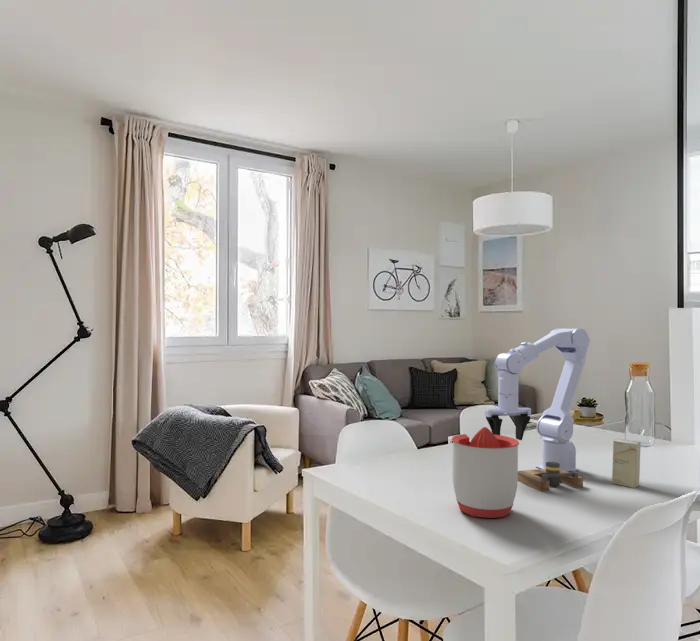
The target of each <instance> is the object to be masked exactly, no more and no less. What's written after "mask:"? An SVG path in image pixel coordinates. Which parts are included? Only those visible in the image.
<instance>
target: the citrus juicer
mask: <svg viewBox="0 0 700 641" xmlns="http://www.w3.org/2000/svg"><path fill="white" fill-rule="evenodd" d="M451 441H452V484H453V489H454V494H455V497H456V499H455V500H456V502H457V505H458V507H459V510H460V511H462V513H465V514H467V515H469V516H470V517H472V518H487V519H489V518H490V519H491V518H492V519H495V518H505V517H506V516H508V515H509V514H510V512H511V511H512V508H513V506H514V502H515V498H516V494H517V490H518V482H519V481H518V471H519V469H518V468H519V465H518V464H519V463H518V462H519V458H518V457H519V456H518V454H519V452H518V451H519V445H520V442H519V441H520V440H518V439H516V438H513V437H510V436H507V435H501V434H500V435H493V433H492V430H491V429H489V428H488V427H486V426H484V427H482V428H481V429H479V430H478V431H477V432H476V434H474V435H473V437H472V438H471V440H470V436H468V435H467V434H466V433H464V434H461V433H460V434H457V435H454V436H453V437H451Z"/></svg>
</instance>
